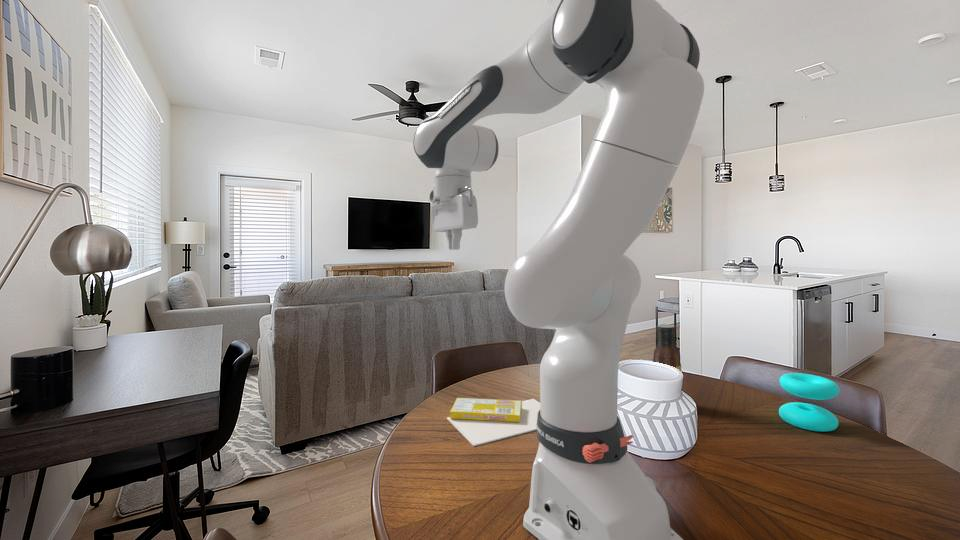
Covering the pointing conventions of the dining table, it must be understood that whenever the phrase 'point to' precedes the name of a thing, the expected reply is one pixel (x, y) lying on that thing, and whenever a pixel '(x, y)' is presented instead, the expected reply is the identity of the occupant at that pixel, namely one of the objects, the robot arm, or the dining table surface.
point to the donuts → (804, 412)
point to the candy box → (486, 409)
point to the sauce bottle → (667, 347)
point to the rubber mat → (498, 425)
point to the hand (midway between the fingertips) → (454, 249)
